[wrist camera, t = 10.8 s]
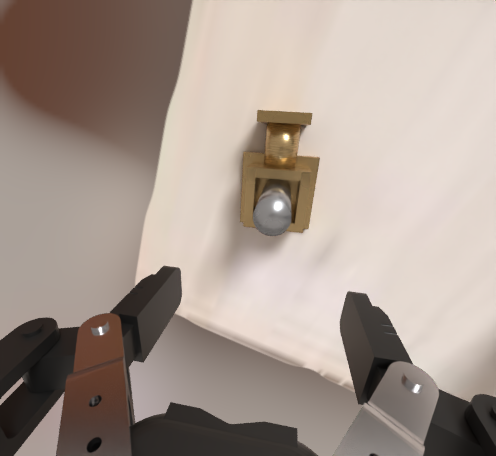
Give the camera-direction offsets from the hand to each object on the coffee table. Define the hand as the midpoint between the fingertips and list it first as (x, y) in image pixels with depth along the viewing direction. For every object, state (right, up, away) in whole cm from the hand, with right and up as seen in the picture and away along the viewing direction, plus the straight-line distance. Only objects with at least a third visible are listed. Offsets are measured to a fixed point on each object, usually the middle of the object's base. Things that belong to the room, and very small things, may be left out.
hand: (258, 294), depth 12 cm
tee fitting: (+3, +10, +19) cm, 22 cm away
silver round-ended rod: (+3, +8, +19) cm, 21 cm away
